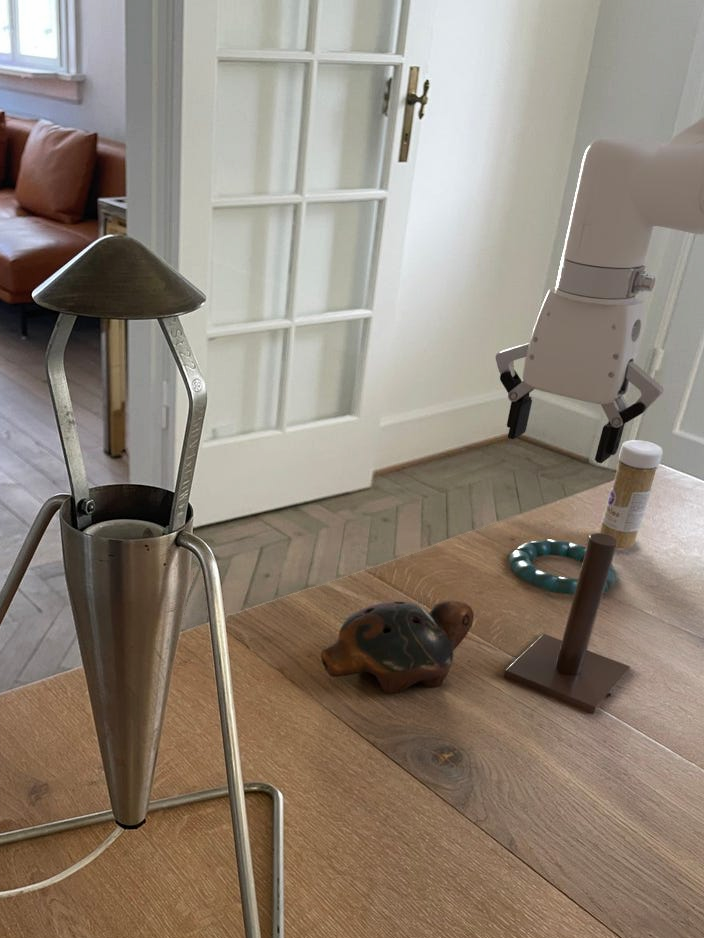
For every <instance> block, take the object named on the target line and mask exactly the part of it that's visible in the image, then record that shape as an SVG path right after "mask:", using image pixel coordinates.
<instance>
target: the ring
mask: <svg viewBox="0 0 704 938" xmlns="http://www.w3.org/2000/svg"><path fill="white" fill-rule="evenodd" d="M586 548H587V546H584V545H582V544H581V545H580V544H578V543H574V542H571V541H563V540H556V539H555V540H553V539H542V540H536V541H529V542H525V543H523V544H521V545H520V546H518V547H517V548H516V549H515V550H514V551H512V552H511V553H510V555H509V557H508V560H509V566H510V570H511V572H512V573H514V574H515V575H516V576H517V577H519V578H520V579H521V580H523V581H524V582H525V583H527V584H529V585H531V586H533V587H536V588H540V589H542V590H545V591H548V592H552V593H555V594H564V595H573V596H574V594H575V590H576V586H577V582H578V578H575V577H563V576H557V575H555V574H552V573H550V572H546V571H543V570H541V569H539V568H538V567H536V566H535V565H534V564H532V562H533V561H534V560H535V559H537V558H539V557H545V556H557V557H566V558H569V559H572V560H574V561H575V560H576V561H578V562H581V563H583V560H584V556H585V552H586ZM617 579H618V577H617V573H616V571H615V567H614V565H613V562H612V563H611V567H610V570H609V574H608V577H607V581H606V585H605V588H604V592H603V593H605V592H607V591H609V590H610V589H611V588H612V587H613V586H614V585H615V584H616V583H617Z"/></svg>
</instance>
